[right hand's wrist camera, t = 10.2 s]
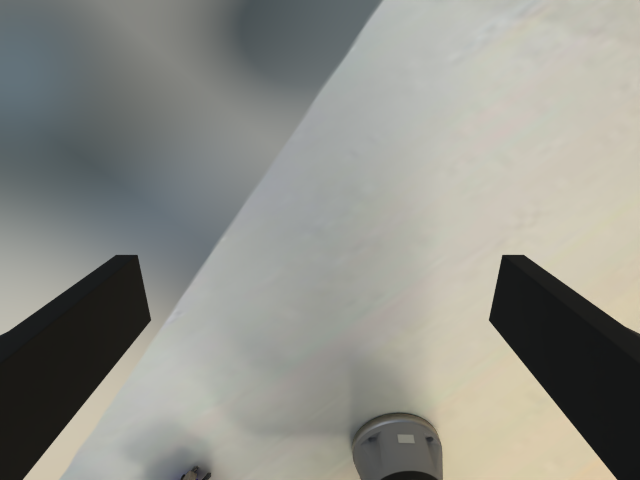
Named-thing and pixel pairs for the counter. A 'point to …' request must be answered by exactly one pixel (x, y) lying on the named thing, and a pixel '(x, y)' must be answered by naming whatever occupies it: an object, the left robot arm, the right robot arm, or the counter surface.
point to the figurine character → (194, 475)
